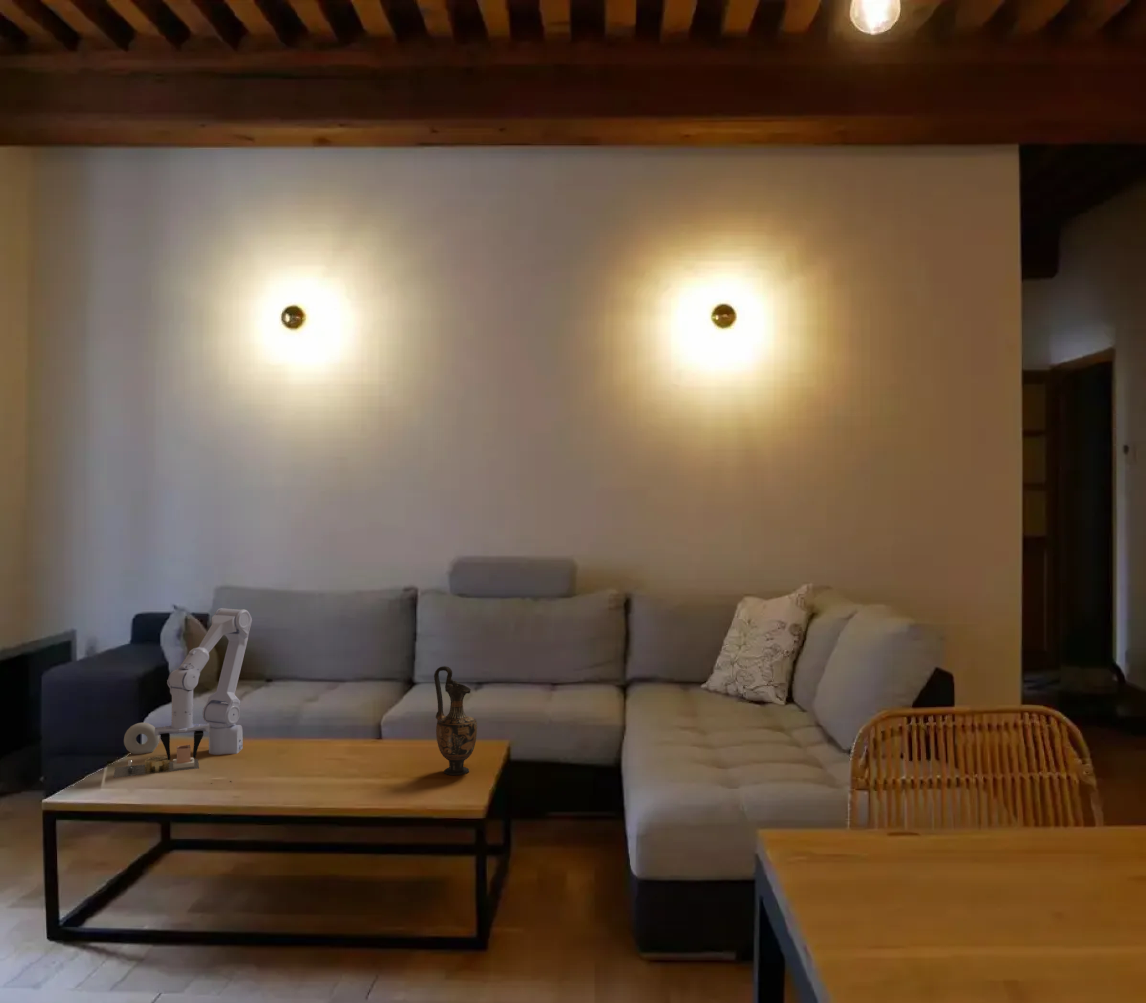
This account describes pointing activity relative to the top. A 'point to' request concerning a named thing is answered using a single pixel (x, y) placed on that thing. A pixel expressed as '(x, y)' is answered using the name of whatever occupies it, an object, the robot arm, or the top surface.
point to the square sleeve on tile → (183, 757)
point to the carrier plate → (141, 769)
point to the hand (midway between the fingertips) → (181, 758)
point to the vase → (454, 725)
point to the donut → (134, 732)
